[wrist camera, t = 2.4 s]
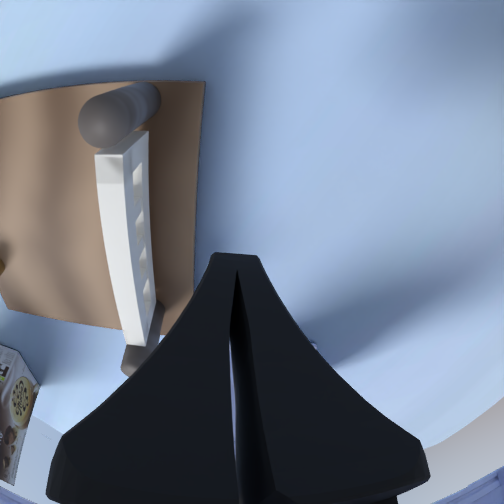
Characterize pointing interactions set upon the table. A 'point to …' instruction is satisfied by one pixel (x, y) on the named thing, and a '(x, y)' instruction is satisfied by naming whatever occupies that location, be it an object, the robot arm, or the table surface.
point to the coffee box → (14, 409)
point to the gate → (128, 231)
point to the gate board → (95, 199)
